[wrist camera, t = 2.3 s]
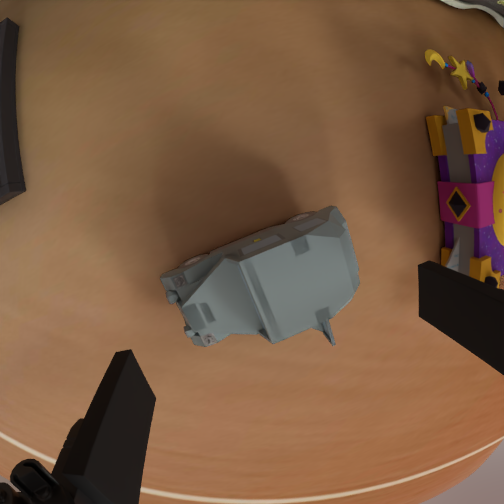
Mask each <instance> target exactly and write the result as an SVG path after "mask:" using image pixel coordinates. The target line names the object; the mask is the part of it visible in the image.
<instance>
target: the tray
mask: <svg viewBox="0 0 504 504" xmlns="http://www.w3.org/2000/svg"><path fill="white" fill-rule="evenodd" d="M18 31H19V26H18V25H17V24H15V23H14V22H13V21H12V20H10V19H9V18H6V19H4V20H3V21H2V22H0V205H1V204H3V203H5V202H7V201H8V200H10V199H12V198H14V197H16V196H17V195H19V194H21V193H23V192H25V191H26V187H25V182H24V176H23V170H22V164H21V157H20V150H19V141H18V131H17V119H16V96H15V74H16V52H17V40H18Z"/></svg>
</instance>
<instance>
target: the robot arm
mask: <svg viewBox="0 0 504 504" xmlns="http://www.w3.org/2000/svg"><path fill="white" fill-rule="evenodd" d="M418 279H419V317H421V318H422V319H424V320H425V321H427V322H428V323H430V324H431V325H432V326H434V327H435V328H437V329H438V330H440V331H441V332H443V333H444V334H446V335H447V336H449V337H450V338H452V339H453V340H455V341H456V342H457V343H459V344H460V345H462V346H463V347H465V348H466V349H468V350H469V351H470V352H472V353H473V354H475V355H476V356H478V357H479V358H480V359H482V360H483V361H485V362H486V363H487V364H489V365H490V366H492V367H493V368H494V369H496V370H497V371H498V372H500V373H501V374H503V375H504V290H503V289H498V288H496V287H494V286H491V285H489V284H487V283H484V282H482V281H479V280H477V279H475V278H472V277H470V276H467V275H465V274H462V273H460V272H457V271H455V270H452V269H450V268H447V267H445V266H442V265H440V264H437V263H435V262H432V261H427V262H424V263H422V264H419V265H418ZM155 401H156V397H155V395H154V393H153V391H152V390H151V388H150V386H149V384H148V382H147V380H146V378H145V376H144V374H143V372H142V370H141V368H140V366H139V364H138V362H137V360H136V358H135V356H134V354H133V352H132V350H131V349H130V350H125V351H120V352H116V353H115V355H114V357H113V359H112V361H111V363H110V365H109V367H108V369H107V371H106V373H105V375H104V377H103V379H102V381H101V383H100V385H99V387H98V389H97V391H96V394H95V396H94V398H93V400H92V402H91V404H90V407H89V409H88V411H87V413H86V415H85V418H84V419H79V420H78V421H77V422H76V423H75V424H74V425H73V426H72V428H71V429H70V432H69V434H68V436H67V440H65V443H64V445H63V448H62V449H61V452H60V454H59V456H58V459H57V461H56V464H55V466H54V468H53V471H52V473H51V474H50V473H49V472H48V471H47V470H46V469H45V468H44V466H43V465H42V464H41V463H40V462H39V461H37V460H35V459H26V460H23V461H21V462H20V463H18V464H17V465H16V466H15V467H14V469H13V470H12V473H11V475H10V482H11V483H12V484H13V485H14V486H15V487H17V488H18V489H19V490H20V491H21V492H16V491H15V490H14V489H13V488H12V487H11V486H10V485H8V484H6V483H0V504H139V496H140V489H141V482H142V475H143V468H144V462H145V456H146V450H147V444H148V438H149V433H150V427H151V422H152V417H153V412H154V406H155Z"/></svg>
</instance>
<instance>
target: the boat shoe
mask: <svg viewBox="0 0 504 504" xmlns="http://www.w3.org/2000/svg"><path fill="white" fill-rule="evenodd" d="M441 1H443V2H445V3H447V4H449V5H451V6H454V7H456V8H460V9H469V8H478V9H481V10H484V11H486V12H488V13H489V14H491V15H492V16H493V17H494V18H495V19H496V20H497V22H498V23H499V24H500V25H501V26H502V27H503V28H504V0H441Z"/></svg>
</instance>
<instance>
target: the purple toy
mask: <svg viewBox="0 0 504 504" xmlns="http://www.w3.org/2000/svg"><path fill="white" fill-rule="evenodd" d="M448 58H449V60H450V62H451V64H452V66H453V67H452V66H450V65H448V64H447V63H444V60H443V58H442V57H441V56H440V55H439V54H438V53H437V52H435V51H434V50H427V51H426V52H425V59H426V61H427V63H428V64H429V65H430V66H431V61H432V60H435V61H436V62H438V63H439V65H440V66H441V68H442V69H444V67H449V68H451V69H454V70H453V71H452V72H451V73H450V75H452V76H455V77H458V79H459V81H460V83H461V85H462V88H463V90H465V89H467V80H470V81H472V83H475V84H476V85H477V89H478V91H479V92H480V93H481V94H483V93H484V92H485V91H486V89H487V87H486V86H485V85H484V84H483V82H481V83H479V82H478V81H477V80H476V78H475V74H474V68H473V65H472V63H471V62H469V61H468V60H467V62H466V66H467V68H468V71H469V73H470V75H469V74H468V72H467V71H466V68H465V60H463V61H461V62H460V63H458V62H457V61H456V60H455V59H454V58H453V57H452V56H449V57H448ZM472 77H473V78H474V79H473V78H472ZM475 81H476V82H477V83H478V84H479V85H478V84H477V83H476V82H475ZM498 91H499V92H500V94H501V95H504V81H499V87H498ZM484 95H485V96H486V97H487V98H488V99H489V101H490V103H491V105H492V108H493V110H494V113H495V116H496V119H497V120H491V116H490V111H484V110H477V109H470V108H466V109H461V110H457V109H454V108H450V107H447V106H443V109H444V113H445V116H439V115H433V116H429V117H426V121H427V125H428V130H429V135H430V140H431V146H432V152H433V156H438V161H439V168H440V176H441V181H437V183H438V192H439V203H440V216H441V220H442V221H445V247H443V248H441V265H442V266H445V267H447V268H450V269H452V270H455V271H457V272H460V273H462V274H465V275H467V276H470V277H472V278H475V279H477V280H479V281H482V282H484V283H487V284H489V285H491V286H494V287H496V288H499V284H500V276H502V275H504V121H499V120H498V116H497V113H496V111H495V108H494V106H493V103H492V102H491V100H490V98H489V94H488V92H485V94H484Z"/></svg>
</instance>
